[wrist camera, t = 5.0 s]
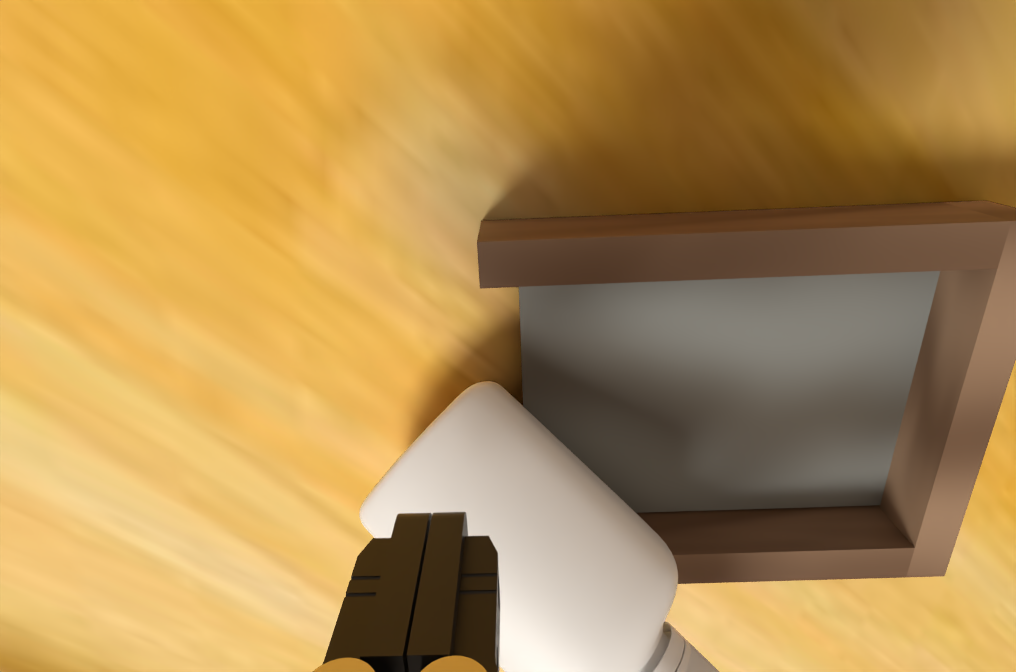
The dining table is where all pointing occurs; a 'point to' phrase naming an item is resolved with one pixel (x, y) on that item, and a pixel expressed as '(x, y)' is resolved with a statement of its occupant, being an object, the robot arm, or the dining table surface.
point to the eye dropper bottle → (543, 540)
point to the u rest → (773, 374)
